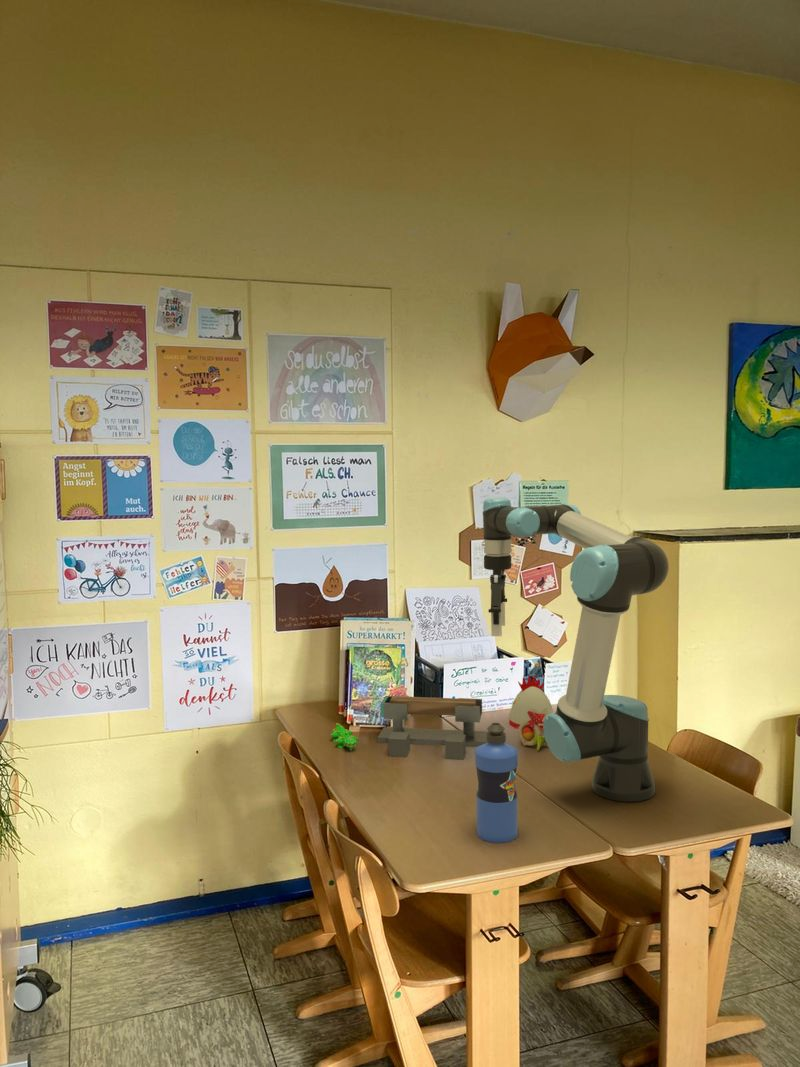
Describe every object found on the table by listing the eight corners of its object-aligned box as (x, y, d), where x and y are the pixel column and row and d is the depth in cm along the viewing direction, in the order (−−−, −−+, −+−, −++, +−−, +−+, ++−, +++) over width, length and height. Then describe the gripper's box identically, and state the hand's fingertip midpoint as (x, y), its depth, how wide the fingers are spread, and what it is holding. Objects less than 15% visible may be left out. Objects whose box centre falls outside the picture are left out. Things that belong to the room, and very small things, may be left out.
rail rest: (463, 759, 229) (463, 742, 229) (388, 756, 233) (388, 738, 233) (465, 751, 235) (465, 734, 234) (392, 748, 239) (392, 731, 238)
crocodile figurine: (341, 755, 235) (341, 740, 235) (326, 735, 252) (325, 721, 252) (364, 752, 237) (363, 737, 237) (347, 732, 254) (346, 718, 254)
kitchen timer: (503, 718, 264) (503, 672, 262) (545, 715, 266) (545, 669, 265) (517, 732, 250) (517, 684, 248) (561, 729, 252) (561, 680, 251)
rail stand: (486, 747, 238) (486, 707, 237) (377, 742, 244) (376, 704, 243) (489, 736, 247) (488, 698, 246) (383, 732, 253) (383, 695, 252)
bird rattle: (520, 756, 236) (546, 749, 231) (506, 718, 238) (532, 711, 233) (531, 750, 241) (557, 743, 236) (517, 713, 243) (542, 705, 238)
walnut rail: (474, 716, 241) (474, 703, 240) (390, 713, 245) (389, 700, 245) (476, 712, 245) (476, 699, 244) (392, 709, 249) (392, 696, 249)
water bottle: (468, 836, 183) (466, 726, 181) (488, 820, 191) (486, 714, 189) (506, 847, 178) (505, 733, 176) (525, 830, 186) (524, 721, 184)
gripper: (487, 549, 242) (488, 621, 244) (479, 560, 217) (480, 640, 219) (513, 549, 240) (514, 621, 242) (508, 560, 216) (509, 641, 218)
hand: (498, 630), depth 231 cm, fingers open, 13 cm apart
